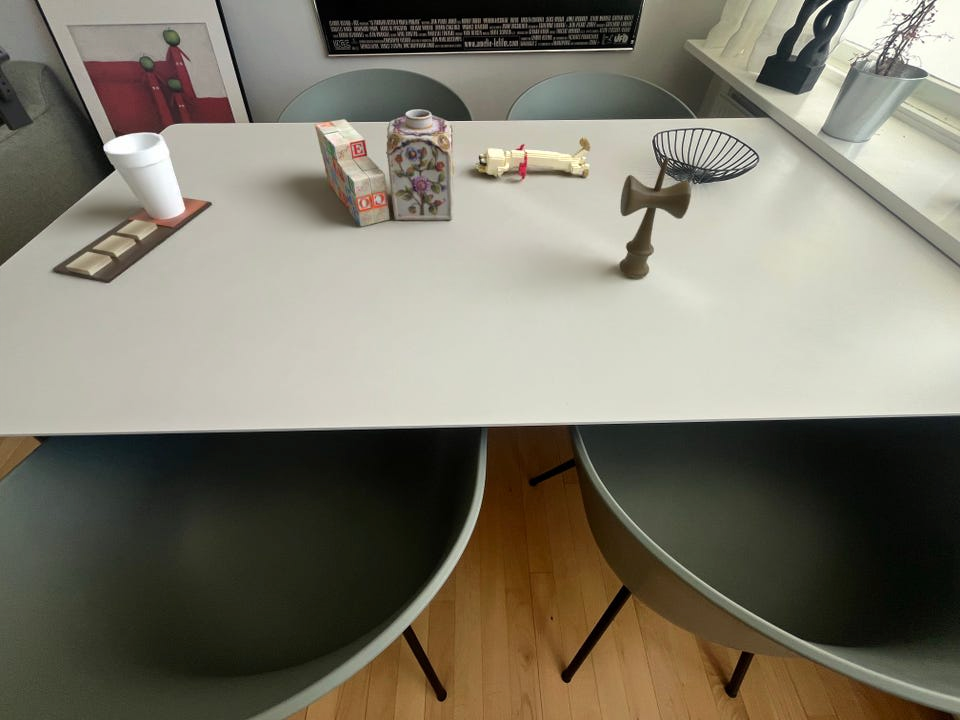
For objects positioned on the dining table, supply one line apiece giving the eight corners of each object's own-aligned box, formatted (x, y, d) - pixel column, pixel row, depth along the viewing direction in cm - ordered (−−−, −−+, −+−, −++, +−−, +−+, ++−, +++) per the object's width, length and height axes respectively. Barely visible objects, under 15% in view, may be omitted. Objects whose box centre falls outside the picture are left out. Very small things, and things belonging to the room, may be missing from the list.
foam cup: (151, 200, 96) (117, 133, 87) (199, 198, 97) (170, 131, 88) (132, 224, 90) (93, 155, 80) (184, 222, 90) (151, 153, 81)
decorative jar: (393, 221, 94) (381, 125, 81) (398, 192, 102) (388, 101, 89) (454, 221, 94) (452, 125, 81) (454, 192, 102) (452, 101, 89)
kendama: (604, 259, 86) (631, 146, 72) (658, 263, 85) (697, 150, 71) (606, 279, 82) (635, 163, 67) (663, 283, 81) (705, 168, 67)
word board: (53, 272, 81) (47, 264, 79) (165, 197, 99) (161, 189, 98) (108, 283, 79) (103, 275, 78) (212, 204, 97) (209, 197, 96)
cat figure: (578, 168, 114) (474, 160, 111) (588, 130, 108) (478, 121, 105) (587, 188, 107) (476, 180, 104) (598, 148, 101) (480, 139, 98)
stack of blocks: (391, 220, 94) (383, 157, 85) (360, 228, 92) (349, 164, 83) (354, 176, 107) (344, 117, 98) (327, 182, 105) (314, 122, 96)
